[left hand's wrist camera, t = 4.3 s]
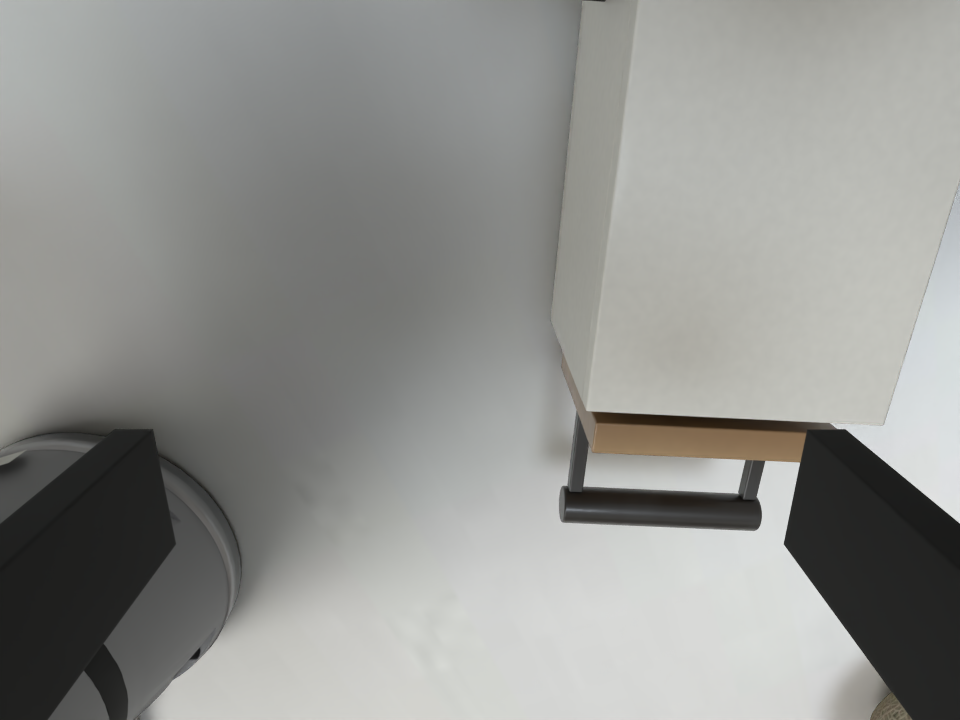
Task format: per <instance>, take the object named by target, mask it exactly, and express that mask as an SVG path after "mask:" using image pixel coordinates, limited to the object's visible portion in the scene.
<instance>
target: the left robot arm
mask: <svg viewBox="0 0 960 720" xmlns="http://www.w3.org/2000/svg"><path fill="white" fill-rule="evenodd" d="M784 545H785V546H786V548H787V549H788V551H789V552H790V553H791V555H792V556H793V557H794V559H795V560H796V562H797V563H798V564H799V566H800V567H801V568H802V570H803V571H804V572H805V574H806V575H807V577H808V578H809V579H810V581H811V582H812V583H813V585H814V586H815V587H816V589H817V590H818V592H819V593H820V594H821V596H822V597H823V598H824V600H825V601H826V603H827V604H828V605H829V607H830V608H831V609H832V611H833V612H834V613H835V615H836V616H837V618H838V619H839V620H840V622H841V623H842V624H843V626H844V627H845V629H846V630H847V631H848V633H849V634H850V635H851V637H852V638H853V639H854V641H855V642H856V644H857V645H858V646H859V648H860V649H861V650H862V652H863V653H864V654H865V656H866V657H867V659H868V660H869V661H870V663H871V664H872V665H873V667H874V668H875V670H876V671H877V672H878V674H879V675H880V676H881V678H882V679H883V680H884V682H885V683H886V685H887V686H888V687H889V689H890V690H891V691H892V693H893V694H894V696H895V697H896V698H897V700H898V701H899V702H900V704H901V705H902V706H903V708H904V709H905V711H906V712H907V713H908V715H909V716H910V717H911V719H912V720H960V523H958V522H957V521H956V520H955V519H953V518H952V517H951V516H950V515H949V514H947V513H946V512H945V511H944V510H943V509H941V508H940V507H939V506H938V505H936V504H935V503H934V502H933V501H932V500H930V499H929V498H928V497H927V496H926V495H924V494H923V493H922V492H921V491H919V490H918V489H917V488H916V487H915V486H913V485H912V484H911V483H910V482H909V481H907V480H906V479H905V478H904V477H902V476H901V475H900V474H899V473H898V472H896V471H895V470H894V469H893V468H892V467H890V466H889V465H888V464H887V463H885V462H884V461H883V460H882V459H881V458H879V457H878V456H877V455H876V454H875V453H873V452H872V451H871V450H870V449H868V448H867V447H866V446H865V445H864V444H862V443H861V442H860V441H859V440H858V439H856V438H855V437H854V436H853V435H851V434H850V433H849V432H848V431H847V430H845V429H807V432H806V437H805V442H804V447H803V452H802V457H801V462H800V467H799V472H798V477H797V482H796V487H795V492H794V496H793V501H792V506H791V511H790V516H789V521H788V526H787V531H786V536H785V541H784ZM240 579H241V564H240V556H239V551H238V547H237V543H236V540H235V538H234V535H233V532H232V530H231V528H230V526H229V524H228V522H227V520H226V518H225V517H224V515H223V513H222V512H221V510H220V509H219V507H218V506H217V505H216V503H215V502H214V501H213V499H212V498H211V497H210V496H209V495H208V494H207V493H206V491H205V490H204V489H203V488H202V487H201V486H200V485H199V484H197V483H196V482H195V481H194V480H193V479H192V478H191V477H190V476H188V475H187V474H186V473H184V472H183V471H182V470H181V469H179V468H178V467H176V466H175V465H173V464H172V463H170V462H169V461H167V460H165V459H163V458H162V457H160V456H158V452H157V447H156V442H155V437H154V432H153V429H115V430H113V431H112V432H111V433H110V434H109V435H107V436H106V437H104V436H99V435H92V434H83V433H57V434H48V435H41V436H36V437H32V438H28V439H24V440H22V441H19V442H16V443H14V444H11V445H9V446H7V447H5V448H3V449H1V450H0V720H134V719H135V718H136V717H138V716H139V715H140V714H141V713H142V712H143V711H144V710H145V709H146V708H147V707H148V706H149V705H150V704H151V703H152V702H153V701H154V700H155V699H156V698H157V697H158V696H159V695H160V694H161V693H162V692H163V691H164V690H165V689H166V688H167V687H168V685H169V684H170V683H171V681H172V680H173V679H175V678H177V677H178V676H180V675H181V674H183V673H184V672H185V671H187V670H188V669H189V668H190V667H191V666H192V665H194V664H195V663H196V662H197V661H198V660H199V659H200V658H201V657H202V656H203V655H204V654H205V652H206V651H207V650H208V649H209V648H210V647H211V646H212V644H213V643H214V642H215V640H216V639H217V637H218V636H219V634H220V632H221V630H222V628H223V626H224V624H225V622H226V620H227V618H228V616H229V614H230V613H231V611H232V609H233V606H234V604H235V601H236V599H237V595H238V591H239V587H240Z"/></svg>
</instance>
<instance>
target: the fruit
mask: <svg viewBox="0 0 960 720" xmlns="http://www.w3.org/2000/svg"><path fill="white" fill-rule="evenodd" d="M870 720H912V719H911V717H910V716H909V715H908V713H907V712H906V711H905V709H904V708H903V706H902V705H901V704H900V702H899V701H898V700H897V698H896V697H895V696H894V694H893V693H890V694H889V695H887V696H886V697H885V698H884V699H883V700H882V701H881V702H880V704H879V705H878V706H877V707H876V708H875V710H874V712H873V713H872V716H871V718H870Z"/></svg>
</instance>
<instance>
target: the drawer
mask: <svg viewBox="0 0 960 720" xmlns="http://www.w3.org/2000/svg"><path fill="white" fill-rule="evenodd" d="M561 367H562V370H563V373H564V376H565V379H566V381H567V384H568V387H569V390H570V392H571V395H572V398H573V401H574V403H575V406H576V409H577V411H576V419H575V427H574V435H573V444H572V452H571V460H570V468H569V477H568V486H562V488H561V490H560V497H559V514H560V519H561V522H563V523H584V524H607V525H630V526H653V527H676V528H699V529H721V530H744V531H755V530H757V529H758V528H759V526H760V524H761V519H762V511H761V505H760V502H759V500H758V498H757V497H756V496H757V492H758V488H759V484H760V480H761V476H762V472H763V468H764V464H765V461H782V462H801V457H802V452H803V447H804V442H805V437H806V432H807V429H836V428H835V427H834V426H833V425H832V424H830V423H820V422H799V421H779V420H758V419H738V418H717V417H697V416H676V415H655V414H635V413H614V412H594V411H586V409H585V406H584V404H583V401H582V400H581V397H580V395H579V392H578V389H577V387H576V384H575V382H574V379H573V377H572V374H571V372H570V369H569V367H568V364H567V361H566V359H565V356H564V354H562V364H561ZM589 445H590V448H591V450H592V452H593V453H612V454H633V455H654V456H676V457H697V458H718V459H740V460H746V461H745V465H744V470H743V474H742V478H741V483H740V487H739V491H738V493H739V494H733V493H710V492H688V491H666V490H644V489H622V488H600V487H583V484H584V476H585V468H586V461H587V453H588V446H589Z"/></svg>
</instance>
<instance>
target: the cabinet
mask: <svg viewBox="0 0 960 720" xmlns="http://www.w3.org/2000/svg"><path fill="white" fill-rule="evenodd" d="M959 183H960V0H606V1H605V2H600V1H585V0H582V10H581V20H580V30H579V40H578V50H577V60H576V70H575V80H574V90H573V100H572V110H571V120H570V130H569V140H568V150H567V160H566V170H565V180H564V190H563V200H562V210H561V220H560V230H559V240H558V250H557V260H556V270H555V280H554V290H553V300H552V310H551V323H552V326H553V328H554V331H555V333H556V336H557V338H558V341H559V344H560V346H561V349H562V351H563V354H564V356H565V359H566V361H567V364H568V367H569V369H570V372H571V374H572V377H573V379H574V382H575V384H576V387H577V389H578V392H579V395H580V397H581V400H582V401H583V404H584V406H585V409H586V411H594V412H614V413H635V414H655V415H676V416H697V417H717V418H738V419H758V420H779V421H799V422H820V423H841V424H861V425H884V422H885V419H886V416H887V413H888V410H889V406H890V403H891V400H892V397H893V394H894V391H895V387H896V384H897V381H898V378H899V375H900V371H901V368H902V365H903V362H904V359H905V355H906V352H907V349H908V346H909V343H910V339H911V336H912V333H913V330H914V327H915V323H916V320H917V317H918V314H919V311H920V307H921V304H922V301H923V298H924V295H925V291H926V288H927V285H928V282H929V279H930V275H931V272H932V269H933V266H934V263H935V259H936V256H937V253H938V250H939V247H940V243H941V240H942V237H943V234H944V231H945V227H946V224H947V221H948V218H949V215H950V211H951V208H952V205H953V202H954V199H955V196H956V192H957V189H958V186H959Z"/></svg>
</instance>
